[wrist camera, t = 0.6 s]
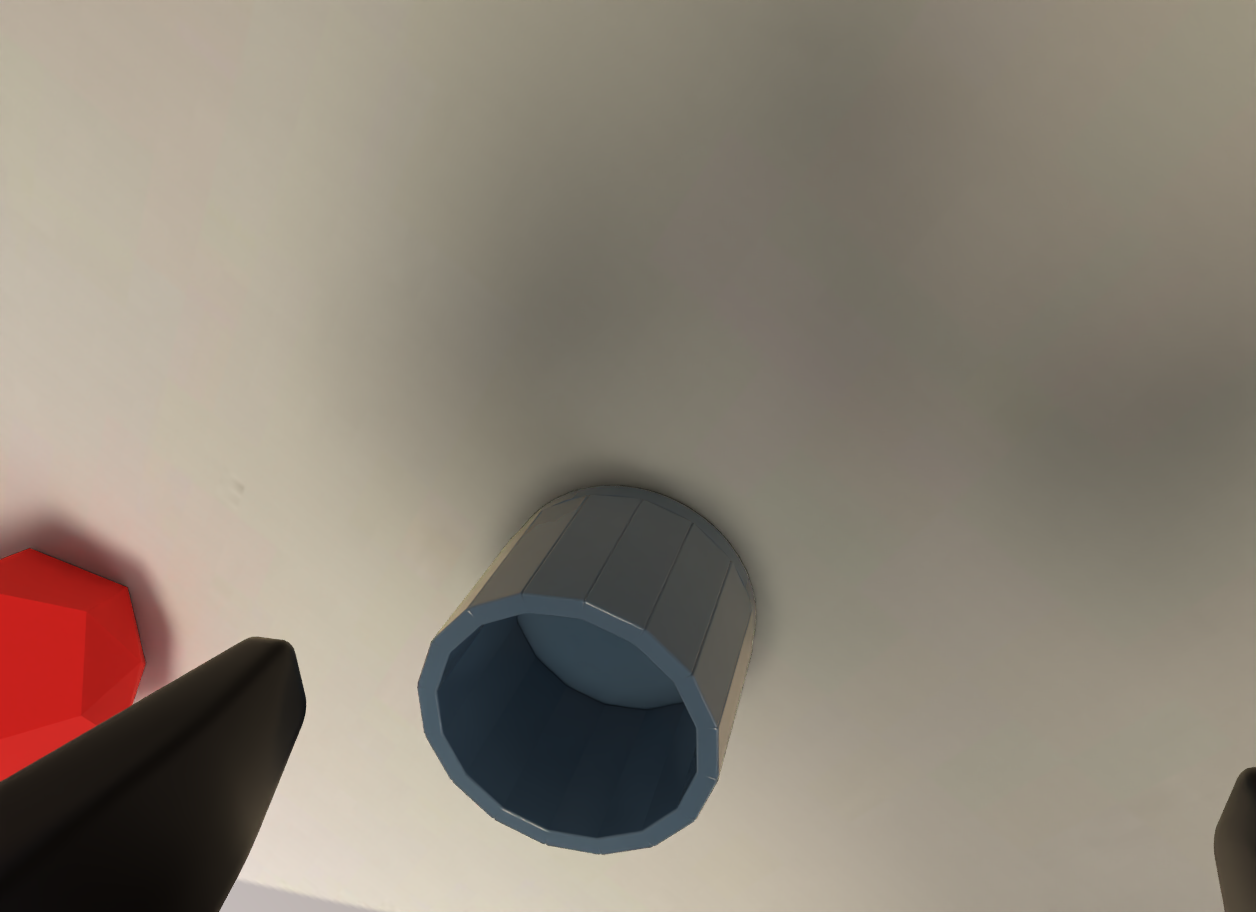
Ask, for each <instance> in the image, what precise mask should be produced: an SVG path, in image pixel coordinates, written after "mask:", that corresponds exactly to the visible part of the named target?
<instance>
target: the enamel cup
mask: <svg viewBox="0 0 1256 912" xmlns="http://www.w3.org/2000/svg"><path fill="white" fill-rule="evenodd" d="M755 626H756V604H755V598H754V593H753V588H752V585H751V582H750V579H749V577H748V574H747V571H746V569H745V568H744V566H743V564H742V562H741V560H740V558H739V556H738V555H737V553H736V552H735V550H734V549H733V548H732V546H731V545H730V543H729V542H728V541H727V540H726V539H725V538H724V536H723V535H722V534H721V533H720V532H719V531H718V530H717V529H716V528H715V527H714V526H713V525H712V524H710V523H709V522H708V521H707V520H706V519H705V518H703V517H702V516H701V515H699V514H698V513H696V512H695V511H693V510H692V509H690V508H689V507H687V506H685V505H683V504H681V503H679V502H678V501H676V500H674V499H671V498H669V497H666V496H664V495H661V494H659V493H656V492H652V491H648V490H644V489H641V488H634V487H627V486H597V487H588V488H584V489H580V490H576V491H573V492H570V493H567V494H565V495H562V496H560V497H558V498H556V499H554V500H553V501H551V502H549V503H547V504H546V505H545V506H543V507H542V508H541V509H540V510H538V511H537V512H536V513H535V514H534V515H533V516H532V517H531V518H530V519H529V520H528V521H527V522H526V523H525V525H524V526H523V527H522V528H521V530H520V531H519V532H518V533H516V534H515V535H514V536H513V537H512V538H511V539H510V541H509V542H508V543H507V545H506V546H505V547H504V548H503V550H502V551H501V552H500V554H499V555H498V556H497V557H496V559H495V560H494V561H493V563H492V564H491V565H490V566H489V568H488V569H487V570H486V572H485V573H484V574H483V575H482V577H481V578H480V579H479V580H478V582H477V583H476V584H475V586H474V587H473V588H472V589H471V591H470V592H469V593H468V595H467V596H466V597H465V598H464V600H463V601H462V602H461V604H460V605H459V606H458V607H457V609H456V610H455V611H454V613H453V614H452V615H451V616H450V618H449V619H448V620H447V622H446V623H445V624H444V625H443V627H442V628H441V629H440V631H439V632H438V633H437V634H436V636H435V637H434V638H433V640H432V641H431V644H430V647H429V650H428V653H427V656H426V659H425V662H424V665H423V668H422V671H421V675H420V678H419V681H418V687H417V688H418V695H419V702H420V708H421V715H422V721H423V728H424V733H425V736H426V738H427V740H428V741H429V743H430V745H431V747H432V748H433V750H434V752H435V753H436V755H437V757H438V759H439V760H440V762H441V764H442V766H443V767H444V769H445V771H446V772H447V774H448V776H449V778H450V779H451V780H452V781H453V783H454V784H455V785H456V786H458V787H459V788H460V789H461V790H462V791H463V792H464V793H465V794H466V795H467V796H469V797H470V798H471V799H472V800H473V801H474V802H475V803H476V804H477V805H478V806H480V807H481V808H482V809H483V810H484V811H485V812H486V813H487V814H488V815H489V816H491V817H492V818H495V820H496V821H498V822H500V823H502V824H504V825H506V826H508V827H510V828H512V829H514V830H516V831H518V832H520V833H522V834H524V835H526V836H528V837H530V838H532V839H534V840H536V841H538V842H540V843H542V844H546V845H548V846H554V847H559V848H565V849H571V850H576V851H582V852H587V853H593V854H603V855H604V854H611V853H617V852H624V851H630V850H637V849H643V848H650V847H653V846H656V845H657V844H659V843H661V842H662V841H664V840H665V839H667V838H669V837H670V836H672V835H673V834H675V833H676V832H678V831H680V830H681V829H683V828H684V827H686V826H688V825H689V824H691V823H692V822H694V820H695V819H697V817H698V815H699V814H700V812H701V810H702V808H703V806H704V805H705V803H706V801H707V799H708V797H709V796H710V794H711V792H712V790H713V789H714V787H715V785H716V783H717V781H718V779H719V775H720V771H721V768H722V764H723V760H724V756H725V753H726V749H727V745H728V741H729V738H730V734H731V730H732V726H733V722H734V719H735V715H736V711H737V707H738V704H739V700H740V696H741V692H742V689H743V685H744V681H745V677H746V674H747V670H748V666H749V662H750V659H751V655H752V642H753V638H754V634H755Z"/></svg>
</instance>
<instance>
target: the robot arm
mask: <svg viewBox="0 0 1256 912" xmlns="http://www.w3.org/2000/svg"><path fill="white" fill-rule="evenodd" d="M305 712H306V697H305V692H304V688H303V684H302V680H301V675H300V671H299V667H298V663H297V658H296V654H295V651H294V648H293V647H292V645H291V644H290V643H289V642H287V641H285V640H279V639H271V638H263V637H251V638H248V639H245V640H243V641H242V642H240V643H238V644H236V645H235V646H233V647H231V648H229V649H228V650H226V651H224V652H223V653H221V654H219V655H217V656H216V657H214V658H212V659H211V660H209V661H207V662H205V663H204V664H202V665H200V666H198V667H197V668H195V669H193V670H192V671H190V672H188V673H186V674H185V675H183V676H181V677H180V678H178V679H176V680H174V681H173V682H171V683H169V684H168V685H166V686H164V687H162V688H161V689H159V690H157V691H155V692H154V693H152V694H150V695H149V696H147V697H145V698H143V699H142V700H140V701H138V702H137V703H135V704H133V705H131V706H130V707H128V708H126V709H124V710H123V711H121V712H119V713H118V714H116V715H114V716H112V717H111V718H109V719H107V720H106V721H104V722H102V723H100V724H99V725H97V726H95V727H93V728H92V729H90V730H88V731H87V732H85V733H83V734H81V735H80V736H78V737H76V738H75V739H73V740H71V741H69V742H68V743H66V744H64V745H62V746H61V747H59V748H57V749H56V750H54V751H52V752H50V753H49V754H47V755H45V756H44V757H42V758H40V759H38V760H37V761H35V762H33V763H32V764H30V765H28V766H26V767H25V768H23V769H21V770H19V771H18V772H16V773H14V774H13V775H11V776H9V777H7V778H6V779H4V780H2V781H1V782H0V912H219V911H220V909H221V907H222V905H223V903H224V901H225V900H226V898H227V896H228V894H229V892H230V890H231V888H232V886H233V885H234V883H235V881H236V879H237V877H238V875H239V873H240V871H241V869H242V867H243V865H244V863H245V861H246V859H247V857H248V855H249V853H250V850H251V848H252V846H253V844H254V841H255V839H256V837H257V835H258V832H259V830H260V827H261V825H262V822H263V820H264V817H265V815H266V812H267V810H268V808H269V805H270V803H271V800H272V798H273V795H274V793H275V790H276V788H277V785H278V783H279V780H280V778H281V776H282V773H283V771H284V768H285V766H286V763H287V761H288V758H289V756H290V753H291V751H292V749H293V746H294V744H295V741H296V739H297V736H298V734H299V731H300V729H301V726H302V724H303V721H304V717H305ZM1214 855H1215V861H1216V866H1217V872H1218V877H1219V883H1220V888H1221V893H1222V899H1223V904H1224V910H1225V912H1256V767H1252V768H1247V769H1245V770H1244V771H1243V772H1241V773H1240V775H1239V777H1238V778H1237V780H1236V783H1235V785H1234V787H1233V790H1232V792H1231V794H1230V797H1229V799H1228V801H1227V803H1226V806H1225V808H1224V810H1223V813H1222V815H1221V817H1220V820H1219V822H1218V824H1217V827H1216V830H1215V835H1214Z"/></svg>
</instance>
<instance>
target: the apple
mask: <svg viewBox="0 0 1256 912" xmlns="http://www.w3.org/2000/svg"><path fill="white" fill-rule="evenodd" d="M145 664H146V662H145V658H144V654H143V650H142V646H141V641H140V637H139V633H138V629H137V625H136V620H135V616H134V612H133V608H132V604H131V600H130V595H129V591H128V587H125V586H123V585H120V584H118V583H115V582H113V581H110V580H108V579H106V578H103V577H101V576H98V575H96V574H93V573H91V572H88V571H86V570H83V569H81V568H78V567H76V566H73V565H71V564H68V563H66V562H63V561H61V560H58V559H56V558H53V557H51V556H48V555H46V554H43V553H41V552H38V551H36V550H33V549H31V548H29V549H26V550H23V551H21V552H18V553H16V554H13V555H10V556H8V557H5V558H3V559H0V782H1V781H2V780H4V779H6V778H7V777H9V776H11V775H13V774H14V773H16V772H18V771H19V770H21V769H23V768H25V767H26V766H28V765H30V764H32V763H33V762H35V761H37V760H38V759H40V758H42V757H44V756H45V755H47V754H49V753H50V752H52V751H54V750H56V749H57V748H59V747H61V746H62V745H64V744H66V743H68V742H69V741H71V740H73V739H75V738H76V737H78V736H80V735H81V734H83V733H85V732H87V731H88V730H90V729H92V728H93V727H95V726H97V725H99V724H100V723H102V722H104V721H106V720H107V719H109V718H111V717H112V716H114V715H116V714H118V713H119V712H121V711H123V710H124V709H126V708H128V707H130V706H131V705H132V704H133V701H134V698H135V695H136V692H137V689H138V686H139V683H140V680H141V677H142V673H143V670H144V667H145Z"/></svg>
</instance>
